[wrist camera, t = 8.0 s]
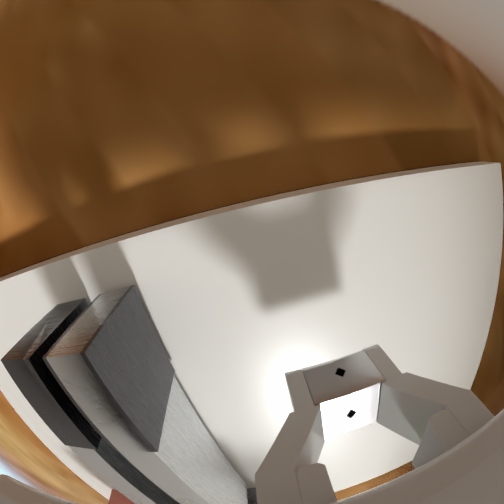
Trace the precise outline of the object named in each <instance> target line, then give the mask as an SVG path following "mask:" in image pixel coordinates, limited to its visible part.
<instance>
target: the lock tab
mask: <svg viewBox="0 0 504 504" xmlns="http://www.w3.org/2000/svg"><path fill="white" fill-rule="evenodd" d="M108 504H135V503H134V502H132V501H131V500H130V499H128V498H127V497H125V496H124V495H123V494H121V493H120V492H119V491H118V490H115V489H112V491H111V495H110V499H109V503H108Z"/></svg>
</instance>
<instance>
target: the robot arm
mask: <svg viewBox="0 0 504 504" xmlns="http://www.w3.org/2000/svg"><path fill="white" fill-rule="evenodd" d="M285 378H286V383H287V387H288V392H289V396H290V400H291V405H292V409H293V412H291V413H289V415H288V417H287V419H286V421H285V423H284V424H283V426H282V428H281V430H280V432H279V434H278V436H277V437H276V439H275V441H274V443H273V444H272V446H271V448H270V450H269V451H268V453H267V455H266V457H265V458H264V460H263V462H262V463H261V465H260V467H259V468H258V470H257V472H256V473H255V484H256V494H257V503H258V504H504V409H503V410H502V411H500V412H499V413H498V414H497V415H496V416H494V415H493V414H492V413H491V412H490V411H489V409H488V408H487V407H486V406H485V405H484V404H483V403H482V402H481V401H480V399H479V398H478V397H477V396H476V395H475V394H474V393H473V392H472V391H471V390H468V389H464V388H460V387H456V386H453V385H449V384H445V383H442V382H438V381H435V380H431V379H428V378H424V377H421V376H418V375H414V374H411V373H408V372H406V373H403V374H402V373H401V371H400V370H399V369H398V368H397V367H396V365H395V364H394V363H393V362H392V360H391V359H390V358H389V357H388V355H387V354H386V353H385V352H384V351H383V349H382V348H381V347H380V346H379V345H377V344H375V345H373V346H370V347H368V348H365V349H362V350H360V351H358V352H355V353H352V354H349V355H346V356H343V357H340V358H337V359H334V360H331V361H328V362H324V363H320V364H317V365H313V366H309V367H305V368H301V369H299V370H295V371H290V372H286V373H285ZM374 422H377V423H379V424H380V425H382V426H384V427H386V428H388V429H389V430H391V431H393V432H395V433H397V434H399V435H400V436H402V437H404V438H406V439H408V440H410V441H412V442H414V443H416V444H418V445H419V447H418V450H417V452H416V454H415V456H414V458H413V461H412V465H413V467H414V470H413V471H411V472H409V473H407V474H405V475H402V476H400V477H398V478H396V479H394V480H392V481H389V482H387V483H385V484H383V485H380V486H378V487H375V488H373V489H370V490H368V491H365V492H362V493H360V494H357V495H354V496H351V497H348V498H345V499H342V500H339V501H337V499H336V496H335V493H334V490H333V487H332V484H331V481H330V478H329V475H328V472H327V469H326V466H325V465H324V464H321V463H317V462H318V459H319V457H320V454H321V451H322V448H323V445H324V442H325V440H326V439H329V438H332V437H335V436H338V435H340V434H343V433H346V432H349V431H351V430H354V429H357V428H360V427H363V426H366V425H369V424H371V423H374ZM0 504H77V503H74V502H71V501H68V500H65V499H62V498H59V497H56V496H53V495H51V494H48V493H45V492H43V491H40V490H38V489H35V488H33V487H31V486H28V485H26V484H24V483H22V482H20V481H18V480H16V479H14V478H12V477H9V476H7V475H0Z"/></svg>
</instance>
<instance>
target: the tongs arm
mask: <svg viewBox="0 0 504 504" xmlns="http://www.w3.org/2000/svg"><path fill="white" fill-rule="evenodd" d="M42 359H43V360H44V362H45V364H46V365H47V367H48V368H49V370H50V371H51V373H52V374H53V376H54V377H55V379H56V380H57V382H58V383H59V385H60V386H61V387H62V389H63V390H64V392H65V393H66V394H67V396H68V397H69V398H70V400H71V401H72V402H73V404H74V405H75V406H76V408H77V409H78V410H79V411H80V413H81V414H82V415H83V416H84V417H85V419H86V420H87V421H88V422H89V423H90V425H91V426H92V427H93V428H94V429H95V430H96V431H97V433H98V434H99V435H100V436H101V437H102V438H103V439H104V440H105V441H106V442H107V443H108V444H109V445H110V446H111V447H112V448H113V450H114V451H119V452H120V453H121V454H122V455H123V456H124V457H125V458H126V459H127V460H128V461H129V462H130V463H132V464H133V465H134V466H135V467H136V468H137V469H138V470H139V471H140V472H141V473H143V474H144V475H145V476H146V477H147V478H148V479H149V480H151V481H152V482H153V483H154V484H155V485H157V486H158V487H159V488H160V489H162V490H163V491H164V492H165V493H167V494H168V495H169V496H171V497H172V498H173V499H175V500H176V501H177V502H179V503H180V504H248V499H247V489H246V483H245V482H244V480H243V479H242V478H241V477H240V475H239V474H238V473H237V471H236V470H235V469H234V468H233V466H232V465H231V464H230V462H229V461H228V460H227V458H226V457H225V455H224V454H223V453H222V451H221V450H220V448H219V447H218V446H217V444H216V443H215V441H214V440H213V438H212V437H211V435H210V434H209V432H208V431H207V429H206V428H205V426H204V425H203V423H202V422H201V420H200V419H199V417H198V416H197V414H196V412H195V411H194V409H193V408H192V406H191V404H190V403H189V401H188V399H187V398H186V396H185V394H184V393H183V391H182V389H181V387H180V386H179V384H178V382H177V380H176V379H175V377H174V373H175V370H174V368H173V366H172V364H171V362H170V360H169V358H168V356H167V354H166V352H165V350H164V348H163V346H162V344H161V342H160V340H159V338H158V336H157V334H156V332H155V330H154V328H153V326H152V323H151V321H150V319H149V317H148V315H147V312H146V310H145V308H144V306H143V303H142V301H141V299H140V296H139V294H138V292H137V289H136V287H135V285H132V286H128V287H125V288H121V289H117V290H114V291H110V292H106V293H103V294H99V295H98V296H97V297H96V298H95V299H94V300H93V301H92V302H91V303H90V304H89V305H88V306H87V307H86V309H85V310H84V311H83V312H82V313H81V314H80V315H79V316H78V317H77V318H76V319H75V321H74V322H73V323H72V324H71V325H70V326H69V327H68V328H67V329H66V331H65V332H64V333H63V334H62V335H61V336H60V337H59V339H58V340H57V341H56V342H55V343H54V344H53V346H52V347H51V348H50V349H49V350H48V352H47V353H46V354H45V355H44V356H43V358H42Z"/></svg>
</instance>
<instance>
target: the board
mask: <svg viewBox="0 0 504 504" xmlns="http://www.w3.org/2000/svg"><path fill="white" fill-rule="evenodd" d="M502 241H503V188H502V174H501V164H500V163H496V162H482V161H479V162H469V163H460V164H451V165H443V166H435V167H428V168H421V169H414V170H407V171H400V172H394V173H387V174H381V175H375V176H369V177H363V178H358V179H352V180H347V181H341V182H336V183H331V184H326V185H321V186H316V187H311V188H306V189H301V190H296V191H291V192H287V193H282V194H278V195H273V196H269V197H264V198H260V199H255V200H251V201H247V202H243V203H239V204H234V205H230V206H226V207H222V208H218V209H214V210H210V211H206V212H203V213H199V214H195V215H191V216H187V217H184V218H180V219H176V220H173V221H169V222H166V223H162V224H158V225H155V226H151V227H148V228H145V229H141V230H138V231H134V232H131V233H128V234H124V235H121V236H118V237H115V238H111V239H108V240H105V241H102V242H99V243H96V244H93V245H90V246H86V247H83V248H80V249H77V250H74V251H72V252H69V253H66V254H63V255H60V256H57V257H54V258H51V259H49V260H46V261H43V262H40V263H37V264H35V265H32V266H29V267H27V268H24V269H21V270H19V271H16V272H13V273H11V274H8V275H6V276H3V277H1V278H0V390H1V391H2V393H3V394H4V396H5V397H6V399H7V400H8V401H9V403H10V404H11V405H12V407H13V408H14V409H15V411H16V412H17V413H18V414H19V416H20V417H21V418H22V419H23V421H24V422H25V423H26V424H27V425H28V426H29V428H30V429H31V430H32V431H33V432H34V433H35V434H36V436H37V437H38V438H39V439H40V440H41V441H42V442H43V443H44V444H45V445H46V446H47V447H48V448H49V449H50V450H51V451H52V452H53V453H54V454H55V455H56V456H57V457H58V458H59V459H60V460H61V461H62V462H63V463H64V464H65V465H66V466H67V467H68V468H70V469H71V470H72V471H73V472H74V473H75V474H76V475H78V476H79V477H80V478H81V479H82V480H83V481H85V482H86V483H87V484H88V485H90V486H91V487H92V488H93V489H95V490H96V491H97V492H99V493H100V494H101V495H103V496H104V497H105V498H107V499H108V500H109V499H110V495H111V491H112V489H115V488H114V487H112V486H111V485H110V484H109V483H108V482H106V481H105V480H104V479H103V478H102V477H100V476H99V475H98V474H97V473H96V472H95V471H93V470H92V469H91V468H90V467H89V466H88V465H87V464H86V463H85V462H84V461H83V460H82V459H81V458H80V457H78V456H77V455H76V454H75V453H74V452H73V451H72V450H71V449H70V447H69V446H67V445H64V444H63V443H62V442H61V441H60V439H59V438H58V437H57V436H56V435H55V434H54V433H53V432H52V431H51V429H50V428H49V427H48V426H47V425H46V424H45V422H44V421H43V420H42V419H41V418H40V416H39V415H38V414H37V413H36V411H35V410H34V409H33V407H32V406H31V405H30V404H29V402H28V401H27V400H26V398H25V397H24V395H23V394H22V393H21V391H20V390H19V388H18V387H17V385H16V384H15V382H14V381H13V379H12V378H11V376H10V375H9V373H8V372H7V370H6V368H5V367H4V365H3V363H2V362H1V359H2V358H3V357H4V356H5V355H6V354H7V353H8V351H9V350H10V349H11V348H12V347H13V346H14V345H15V344H16V343H17V342H18V341H19V340H20V339H21V338H22V337H23V336H24V335H25V334H26V333H27V332H28V331H29V330H30V329H31V328H32V327H33V326H35V325H36V324H37V323H38V322H39V321H40V320H41V319H42V318H43V317H44V316H45V315H46V314H47V313H48V312H49V311H51V310H52V309H53V308H54V307H55V306H56V305H57V304H61V303H66V302H70V301H74V300H79V299H83V298H86V300H87V303H88V305H89V304H90V303H91V302H92V301H93V300H94V299H95V298H96V297H97V296H98V295H99V294H103V293H106V292H110V291H114V290H117V289H121V288H125V287H128V286H132V285H135V287H136V289H137V292H138V294H139V296H140V299H141V301H142V303H143V306H144V308H145V310H146V312H147V315H148V317H149V319H150V321H151V323H152V326H153V328H154V330H155V332H156V334H157V336H158V338H159V340H160V342H161V344H162V346H163V348H164V350H165V352H166V354H167V356H168V358H169V360H170V362H171V364H172V366H173V368H174V370H175V373H174V377H175V379H176V380H177V382H178V384H179V386H180V387H181V389H182V391H183V393H184V394H185V396H186V398H187V399H188V401H189V403H190V404H191V406H192V408H193V409H194V411H195V412H196V414H197V416H198V417H199V419H200V420H201V422H202V423H203V425H204V426H205V428H206V429H207V431H208V432H209V434H210V435H211V437H212V438H213V440H214V441H215V443H216V444H217V446H218V447H219V448H220V450H221V451H222V453H223V454H224V455H225V457H226V458H227V460H228V461H229V462H230V464H231V465H232V466H233V468H234V469H235V470H236V471H237V473H238V474H239V475H240V477H241V478H242V479H243V480H244V482H245V483H246V489H248V488H256V484H255V473H256V472H257V470H258V468H259V467H260V465H261V463H262V462H263V460H264V458H265V457H266V455H267V453H268V451H269V450H270V448H271V446H272V444H273V443H274V441H275V439H276V437H277V436H278V434H279V432H280V430H281V428H282V426H283V424H284V423H285V421H286V419H287V417H288V415H289V413H291V412H293V409H292V405H291V400H290V396H289V392H288V387H287V383H286V378H285V373H286V372H290V371H295V370H299V369H301V368H305V367H309V366H313V365H317V364H320V363H324V362H328V361H331V360H334V359H337V358H340V357H343V356H346V355H349V354H352V353H355V352H358V351H360V350H362V349H365V348H368V347H370V346H373V345H375V344H377V345H379V346H380V347H381V348H382V349H383V351H384V352H385V353H386V354H387V355H388V357H389V358H390V359H391V360H392V362H393V363H394V364H395V365H396V367H397V368H398V369H399V370H400V371H401V373H402V374H403V373H406V372H408V373H411V374H414V375H418V376H421V377H424V378H428V379H431V380H435V381H438V382H442V383H445V384H449V385H453V386H456V387H460V388H464V389H468V390H470V389H471V386H472V384H473V381H474V378H475V376H476V373H477V370H478V367H479V364H480V361H481V358H482V354H483V351H484V347H485V344H486V340H487V337H488V333H489V329H490V324H491V320H492V315H493V311H494V306H495V300H496V295H497V288H498V282H499V274H500V265H501V255H502ZM418 447H419V445H418V444H416V443H414V442H412V441H410V440H408V439H406V438H404V437H402V436H400V435H399V434H397V433H395V432H393V431H391V430H389V429H388V428H386V427H384V426H382V425H380V424H379V423H377V422H374V423H371V424H369V425H366V426H363V427H360V428H357V429H354V430H351V431H349V432H346V433H343V434H340V435H338V436H335V437H332V438H329V439H326V440H325V442H324V445H323V448H322V451H321V454H320V457H319V459H318V462H317V463H321V464H324V465H325V466H326V469H327V472H328V475H329V478H330V481H331V484H332V487H333V490H334V492H336V491H339V490H342V489H345V488H348V487H351V486H354V485H357V484H360V483H362V482H365V481H367V480H370V479H373V478H375V477H377V476H380V475H382V474H385V473H387V472H389V471H391V470H393V469H396V468H398V467H400V466H402V465H404V464H406V463H408V462H410V461H412V460H413V458H414V456H415V454H416V452H417V450H418ZM115 490H116V489H115Z"/></svg>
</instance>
